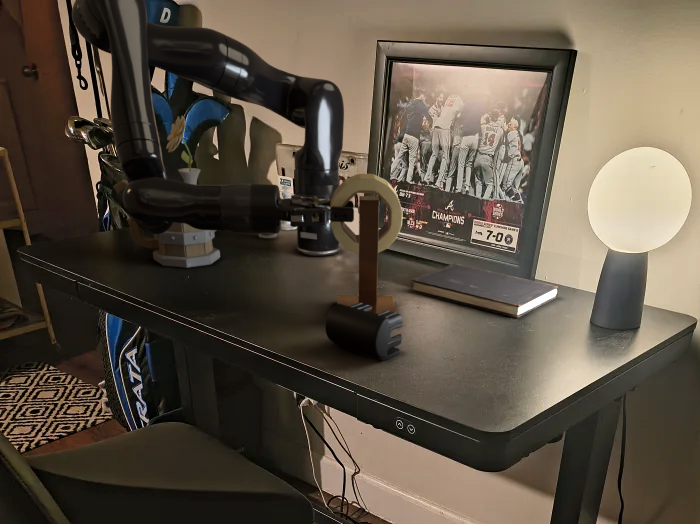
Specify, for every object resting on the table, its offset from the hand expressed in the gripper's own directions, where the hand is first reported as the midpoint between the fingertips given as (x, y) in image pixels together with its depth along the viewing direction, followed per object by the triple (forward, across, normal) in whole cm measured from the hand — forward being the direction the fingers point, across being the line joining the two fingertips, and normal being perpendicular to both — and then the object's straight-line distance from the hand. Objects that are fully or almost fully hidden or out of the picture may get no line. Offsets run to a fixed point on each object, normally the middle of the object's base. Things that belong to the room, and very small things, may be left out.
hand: (353, 211), depth 125 cm
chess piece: (-15, +60, +17) cm, 64 cm away
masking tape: (+2, 0, +6) cm, 7 cm away
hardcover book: (+25, +8, +16) cm, 31 cm away
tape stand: (+2, -4, +16) cm, 17 cm away
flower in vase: (-36, +52, +17) cm, 65 cm away
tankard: (-38, +31, +17) cm, 52 cm away
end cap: (+1, -22, +17) cm, 27 cm away
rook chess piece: (-19, +50, +17) cm, 56 cm away
